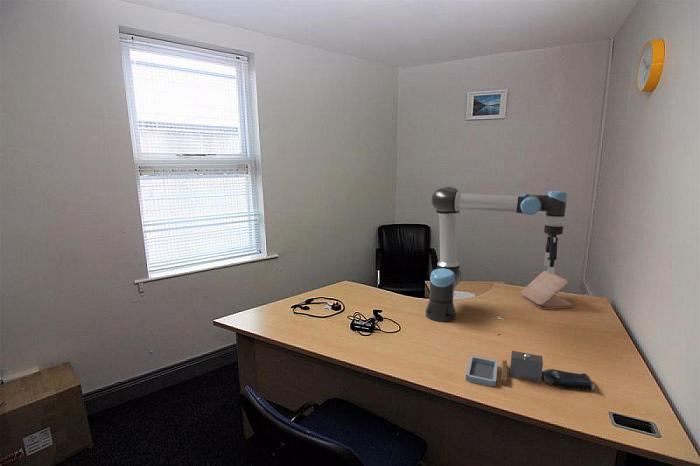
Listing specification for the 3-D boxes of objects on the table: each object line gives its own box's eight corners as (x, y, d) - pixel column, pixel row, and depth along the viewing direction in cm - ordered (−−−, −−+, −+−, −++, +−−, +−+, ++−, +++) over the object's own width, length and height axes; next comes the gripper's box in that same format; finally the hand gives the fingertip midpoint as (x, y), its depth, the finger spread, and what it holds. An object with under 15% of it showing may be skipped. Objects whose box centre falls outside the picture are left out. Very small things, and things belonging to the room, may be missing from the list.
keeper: (465, 380, 129) (465, 375, 129) (470, 360, 143) (470, 355, 142) (495, 387, 125) (495, 382, 125) (497, 365, 139) (497, 361, 138)
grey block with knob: (509, 377, 132) (511, 355, 130) (510, 370, 136) (511, 349, 134) (540, 383, 128) (543, 361, 126) (539, 376, 132) (542, 354, 130)
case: (518, 296, 212) (520, 270, 209) (551, 295, 214) (554, 269, 211) (540, 310, 192) (543, 282, 189) (576, 309, 194) (580, 280, 191)
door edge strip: (501, 384, 127) (501, 379, 126) (502, 364, 139) (502, 360, 139) (505, 385, 126) (506, 380, 126) (506, 365, 139) (507, 360, 138)
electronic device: (582, 381, 132) (538, 370, 135) (587, 369, 130) (542, 358, 133) (591, 400, 123) (543, 388, 126) (596, 387, 121) (548, 375, 124)
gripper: (567, 230, 153) (561, 278, 157) (559, 221, 175) (554, 263, 179) (547, 228, 156) (542, 276, 160) (542, 220, 178) (537, 262, 182)
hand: (548, 269), depth 170 cm, fingers open, 13 cm apart
